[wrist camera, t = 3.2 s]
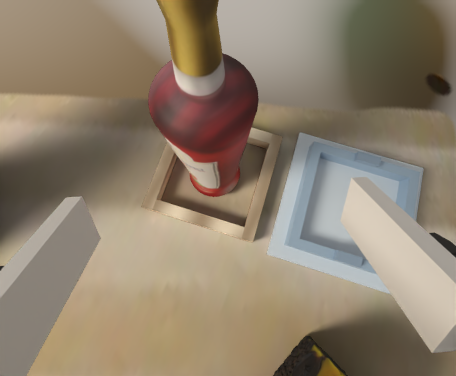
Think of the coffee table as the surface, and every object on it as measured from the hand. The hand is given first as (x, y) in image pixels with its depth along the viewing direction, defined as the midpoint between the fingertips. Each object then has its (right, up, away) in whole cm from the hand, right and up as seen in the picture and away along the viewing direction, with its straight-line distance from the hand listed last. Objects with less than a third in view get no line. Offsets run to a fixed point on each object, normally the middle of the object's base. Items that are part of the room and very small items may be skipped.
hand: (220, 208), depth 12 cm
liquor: (-1, +3, +22) cm, 23 cm away
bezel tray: (+17, -2, +21) cm, 27 cm away
